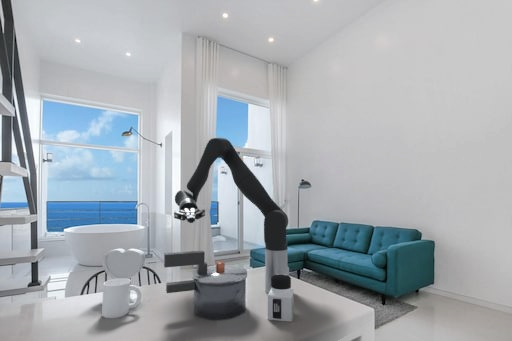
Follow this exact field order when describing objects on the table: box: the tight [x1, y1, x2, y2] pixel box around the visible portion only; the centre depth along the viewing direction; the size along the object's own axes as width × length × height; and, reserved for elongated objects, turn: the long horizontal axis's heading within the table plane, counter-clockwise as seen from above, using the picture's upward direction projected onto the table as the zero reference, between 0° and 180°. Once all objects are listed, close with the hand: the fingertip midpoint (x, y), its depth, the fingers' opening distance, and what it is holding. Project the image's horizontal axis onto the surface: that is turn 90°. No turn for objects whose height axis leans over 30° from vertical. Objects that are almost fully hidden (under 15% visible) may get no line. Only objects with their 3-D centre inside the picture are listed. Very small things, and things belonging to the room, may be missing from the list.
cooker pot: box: [165, 278, 247, 321], centre depth 98 cm, size 27×18×11 cm, turn 111°
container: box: [267, 274, 295, 323], centre depth 94 cm, size 8×8×13 cm
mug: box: [101, 278, 142, 319], centre depth 95 cm, size 12×8×10 cm
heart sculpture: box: [101, 247, 146, 300], centre depth 111 cm, size 16×5×18 cm, turn 89°
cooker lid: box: [163, 250, 248, 284], centre depth 98 cm, size 28×19×9 cm, turn 112°
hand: (191, 220), depth 107 cm, fingers closed
